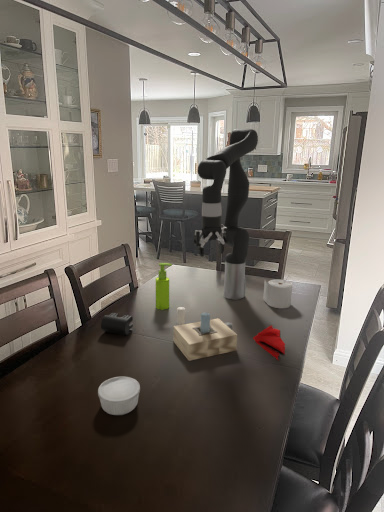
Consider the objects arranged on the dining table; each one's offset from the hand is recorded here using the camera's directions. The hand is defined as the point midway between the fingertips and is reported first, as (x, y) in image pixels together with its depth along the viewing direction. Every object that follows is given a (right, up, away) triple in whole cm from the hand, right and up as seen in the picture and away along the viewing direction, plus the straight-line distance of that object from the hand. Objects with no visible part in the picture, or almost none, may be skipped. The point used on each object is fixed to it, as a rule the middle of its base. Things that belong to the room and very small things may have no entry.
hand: (211, 254), depth 150 cm
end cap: (-36, -30, -7) cm, 47 cm away
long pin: (-3, -32, -15) cm, 36 cm away
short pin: (+6, -31, -8) cm, 32 cm away
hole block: (-3, -32, -15) cm, 36 cm away
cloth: (+21, -32, -11) cm, 40 cm away
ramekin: (-27, -41, -47) cm, 68 cm away
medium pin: (-12, -28, -1) cm, 31 cm away
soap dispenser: (-20, -23, +16) cm, 35 cm away
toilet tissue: (+31, -22, +22) cm, 44 cm away
